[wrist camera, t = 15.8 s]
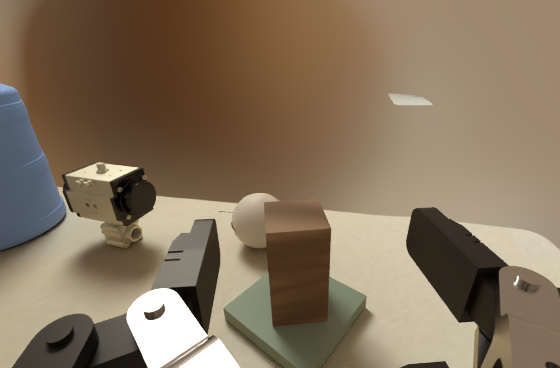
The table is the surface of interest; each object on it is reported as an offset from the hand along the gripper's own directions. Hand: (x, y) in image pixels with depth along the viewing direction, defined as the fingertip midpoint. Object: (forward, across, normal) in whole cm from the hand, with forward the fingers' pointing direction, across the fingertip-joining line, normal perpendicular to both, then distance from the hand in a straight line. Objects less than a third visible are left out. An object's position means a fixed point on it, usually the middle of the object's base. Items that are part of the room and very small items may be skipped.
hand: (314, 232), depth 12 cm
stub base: (+11, -1, +17) cm, 20 cm away
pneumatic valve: (+26, +23, +18) cm, 39 cm away
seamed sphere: (+24, +4, +18) cm, 30 cm away
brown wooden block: (+11, -1, +16) cm, 19 cm away
